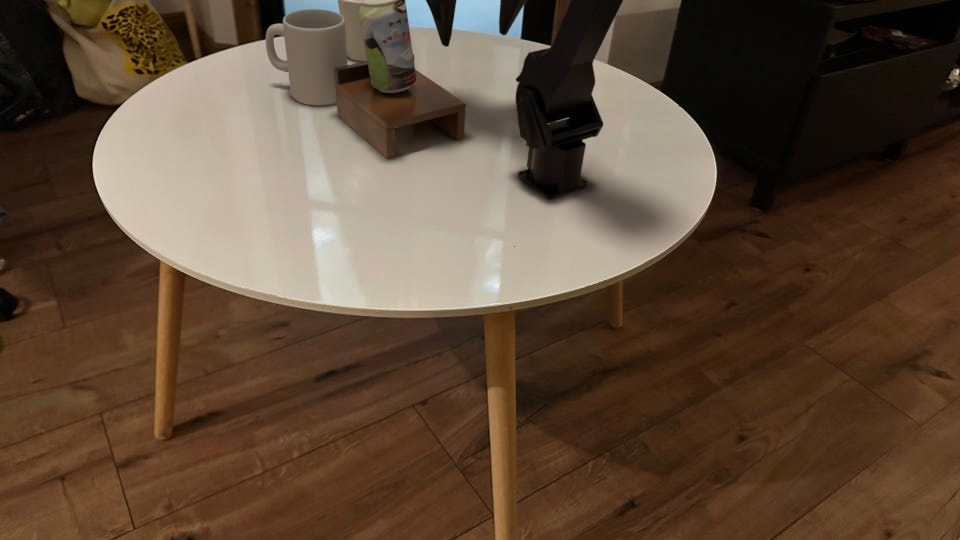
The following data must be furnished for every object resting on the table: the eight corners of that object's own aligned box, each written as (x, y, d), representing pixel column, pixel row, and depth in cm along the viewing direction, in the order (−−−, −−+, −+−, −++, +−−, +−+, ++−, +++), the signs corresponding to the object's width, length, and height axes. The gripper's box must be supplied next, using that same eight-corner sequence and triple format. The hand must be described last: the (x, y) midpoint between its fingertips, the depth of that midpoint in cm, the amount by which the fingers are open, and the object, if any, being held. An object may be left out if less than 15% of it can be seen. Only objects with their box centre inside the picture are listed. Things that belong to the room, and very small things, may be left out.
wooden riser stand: (464, 137, 94) (466, 88, 90) (387, 159, 89) (386, 108, 84) (410, 98, 103) (410, 52, 99) (337, 115, 97) (333, 67, 93)
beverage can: (409, 101, 91) (409, 7, 83) (355, 93, 92) (350, 0, 84) (421, 82, 96) (422, -8, 88) (370, 75, 96) (366, -14, 89)
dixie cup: (372, 42, 120) (370, -19, 114) (399, 58, 115) (399, -4, 109) (329, 51, 115) (325, -11, 109) (356, 68, 110) (353, 4, 104)
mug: (358, 86, 105) (354, 13, 98) (336, 110, 99) (330, 33, 92) (285, 74, 107) (276, 1, 100) (258, 96, 100) (247, 20, 94)
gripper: (504, -111, 90) (495, 11, 100) (377, -102, 81) (380, 31, 91) (560, -93, 83) (544, 36, 93) (428, -81, 74) (426, 60, 84)
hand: (474, 39), depth 90 cm, fingers open, 9 cm apart
